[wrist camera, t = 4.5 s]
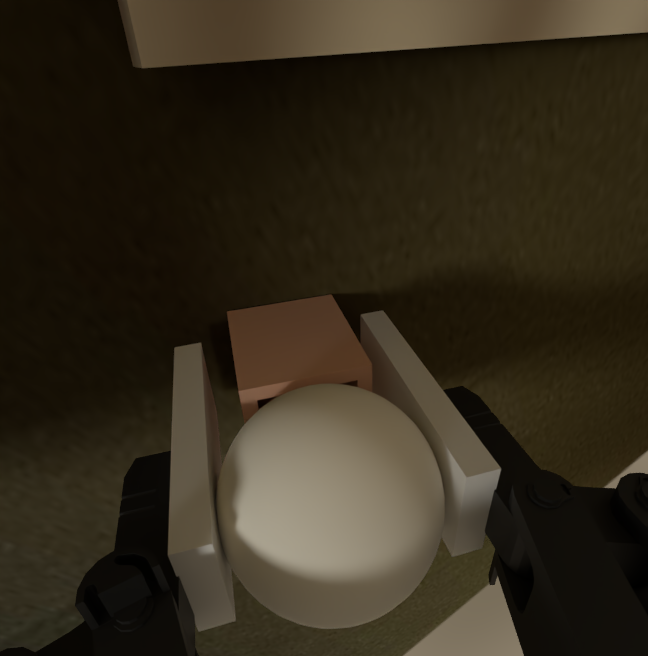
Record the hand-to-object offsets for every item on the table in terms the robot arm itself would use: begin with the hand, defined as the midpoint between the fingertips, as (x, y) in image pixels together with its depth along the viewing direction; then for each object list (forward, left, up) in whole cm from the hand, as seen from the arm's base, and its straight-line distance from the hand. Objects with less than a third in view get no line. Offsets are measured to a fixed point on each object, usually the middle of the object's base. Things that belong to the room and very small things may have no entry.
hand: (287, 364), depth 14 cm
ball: (0, 0, +5) cm, 5 cm away
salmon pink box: (0, 0, -1) cm, 1 cm away
